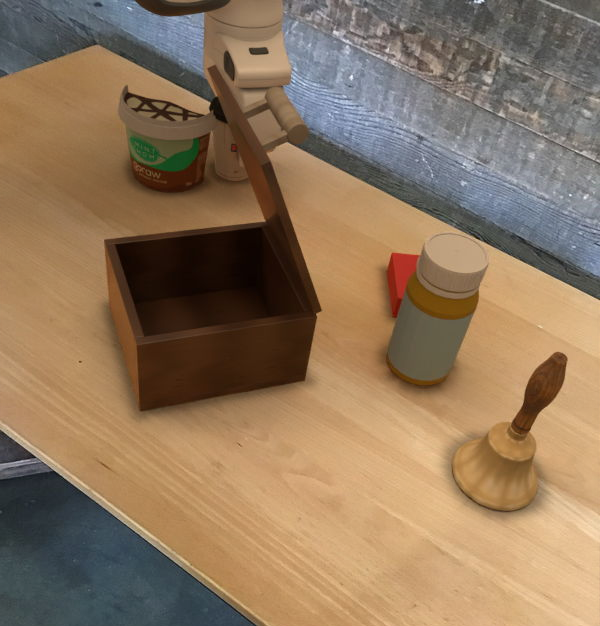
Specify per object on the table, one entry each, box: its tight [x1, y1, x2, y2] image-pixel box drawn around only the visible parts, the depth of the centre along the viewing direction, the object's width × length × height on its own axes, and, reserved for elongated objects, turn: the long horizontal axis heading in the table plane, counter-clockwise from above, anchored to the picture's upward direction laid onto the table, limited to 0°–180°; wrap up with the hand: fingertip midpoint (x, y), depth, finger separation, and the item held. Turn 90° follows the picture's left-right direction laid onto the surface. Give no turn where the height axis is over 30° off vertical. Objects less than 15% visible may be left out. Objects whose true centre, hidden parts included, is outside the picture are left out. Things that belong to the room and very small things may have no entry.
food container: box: [117, 84, 217, 193], centre depth 92 cm, size 12×6×10 cm, turn 71°
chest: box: [103, 220, 318, 412], centre depth 75 cm, size 17×15×9 cm
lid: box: [207, 65, 323, 315], centre depth 67 cm, size 18×15×5 cm
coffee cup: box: [208, 96, 249, 182], centre depth 96 cm, size 7×7×10 cm
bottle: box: [385, 230, 490, 386], centre depth 75 cm, size 7×7×15 cm
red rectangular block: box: [386, 252, 421, 318], centre depth 86 cm, size 8×7×6 cm
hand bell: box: [451, 351, 569, 512], centre depth 66 cm, size 8×8×16 cm
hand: (234, 145), depth 97 cm, fingers closed on coffee cup, 7 cm apart
